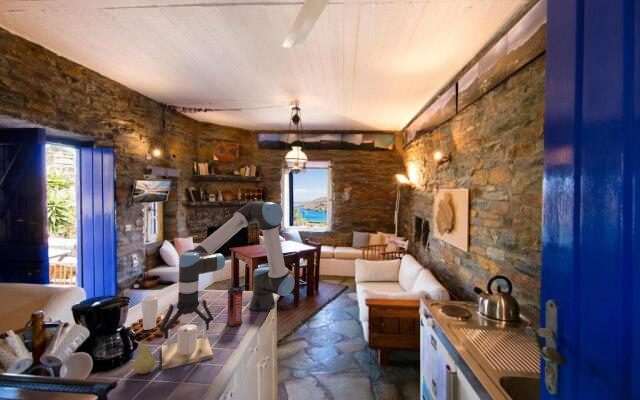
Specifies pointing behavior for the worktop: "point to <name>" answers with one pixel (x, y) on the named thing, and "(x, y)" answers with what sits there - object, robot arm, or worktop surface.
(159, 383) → the worktop surface
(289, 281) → the robot arm
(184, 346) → the white domed knob
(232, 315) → the speaker
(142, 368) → the fruit
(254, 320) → the worktop surface
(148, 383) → the worktop surface
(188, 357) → the board
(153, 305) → the drinking glass
